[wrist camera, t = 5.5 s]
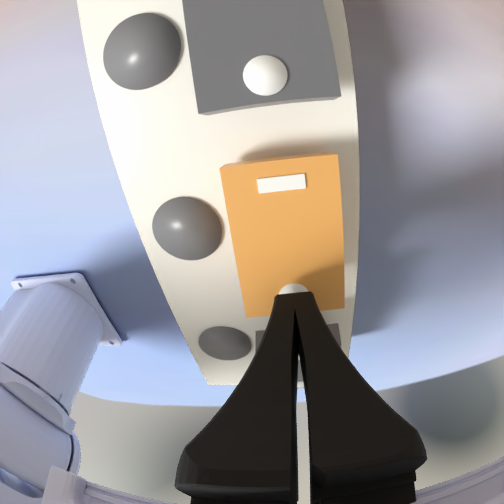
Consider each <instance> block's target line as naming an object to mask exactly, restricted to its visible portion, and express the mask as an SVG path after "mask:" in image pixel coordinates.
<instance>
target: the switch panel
mask: <svg viewBox="0 0 504 504" xmlns="http://www.w3.org/2000/svg"><path fill="white" fill-rule="evenodd" d="M323 3H324V7H325V12H326V16H327V20H328V25H329V29H330V34H331V39H332V44H333V49H334V54H335V60H336V65H337V71H338V77H339V84H340V90H341V97H339V98H337V99H335V100H326V101H312V102H300V103H289V104H280V105H271V106H264V107H256V108H249V109H242V110H236V111H230V112H224V113H219V114H213V115H208V116H207V115H201V114H198V108H197V102H196V96H195V89H194V83H193V76H192V69H191V63H190V56H189V49H188V42H187V35H186V27H185V20H184V12H183V4H182V0H77V4H78V11H79V18H80V24H81V30H82V36H83V41H84V46H85V51H86V56H87V61H88V66H89V71H90V75H91V79H92V84H93V88H94V92H95V96H96V100H97V104H98V108H99V112H100V115H101V119H102V123H103V126H104V130H105V133H106V137H107V140H108V144H109V147H110V150H111V154H112V157H113V160H114V163H115V166H116V169H117V173H118V176H119V179H120V182H121V185H122V188H123V191H124V193H125V196H126V199H127V202H128V205H129V208H130V210H131V213H132V216H133V219H134V221H135V224H136V227H137V229H138V232H139V235H140V237H141V240H142V242H143V245H144V247H145V250H146V252H147V255H148V257H149V260H150V262H151V265H152V267H153V269H154V272H155V274H156V277H157V279H158V281H159V284H160V286H161V288H162V290H163V293H164V295H165V297H166V299H167V302H168V304H169V306H170V308H171V311H172V313H173V315H174V317H175V319H176V321H177V323H178V326H179V328H180V330H181V332H182V334H183V336H184V338H185V340H186V342H187V344H188V346H189V348H190V350H191V352H192V354H193V356H194V358H195V360H196V362H197V364H198V366H199V368H200V370H201V372H202V374H203V376H204V377H205V379H206V381H207V383H208V385H238V384H239V382H240V380H241V379H242V377H243V375H244V374H245V372H246V370H247V369H248V367H249V365H250V363H251V361H252V359H253V357H254V355H255V336H256V331H260V330H266V327H267V324H268V321H269V318H270V316H262V317H248V318H246V314H245V309H244V303H243V298H242V293H241V287H240V282H239V276H238V271H237V266H236V260H235V255H234V249H233V244H232V238H231V232H230V227H229V221H228V215H227V210H226V204H225V198H224V192H223V187H222V181H221V175H220V169H219V168H220V167H222V166H223V165H225V164H229V163H235V162H242V161H250V160H257V159H265V158H273V157H281V156H291V155H300V154H311V153H322V152H333V153H336V154H338V163H339V174H340V186H341V200H342V216H343V238H344V277H345V308H342V309H334V310H325V311H320V312H321V314H322V316H323V318H324V320H325V322H326V324H334V323H338V325H339V331H340V338H341V345H342V346H341V349H342V350H343V352H344V353H345V355H346V356H347V358H348V357H349V350H350V342H351V334H352V325H353V316H354V305H355V294H356V281H357V266H358V247H359V216H360V171H359V140H358V121H357V107H356V95H355V84H354V74H353V65H352V57H351V49H350V42H349V35H348V29H347V23H346V17H345V11H344V5H343V0H323Z"/></svg>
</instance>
